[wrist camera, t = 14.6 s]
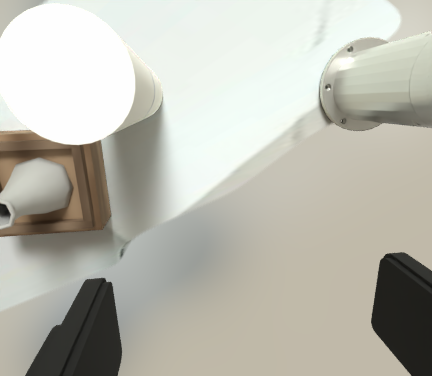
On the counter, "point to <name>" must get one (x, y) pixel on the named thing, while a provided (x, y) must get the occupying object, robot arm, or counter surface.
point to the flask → (34, 190)
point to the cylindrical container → (73, 76)
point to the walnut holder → (79, 176)
